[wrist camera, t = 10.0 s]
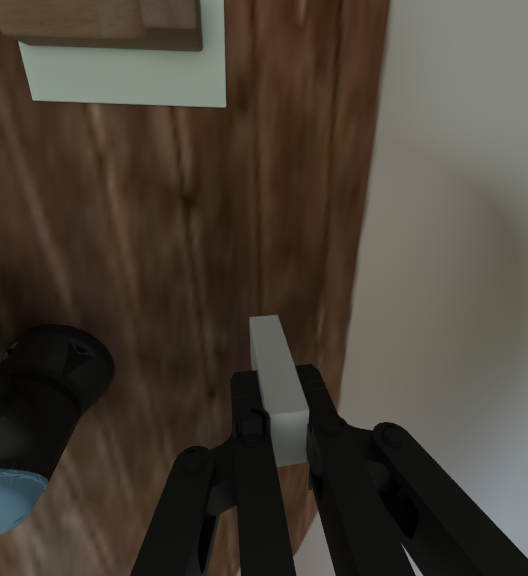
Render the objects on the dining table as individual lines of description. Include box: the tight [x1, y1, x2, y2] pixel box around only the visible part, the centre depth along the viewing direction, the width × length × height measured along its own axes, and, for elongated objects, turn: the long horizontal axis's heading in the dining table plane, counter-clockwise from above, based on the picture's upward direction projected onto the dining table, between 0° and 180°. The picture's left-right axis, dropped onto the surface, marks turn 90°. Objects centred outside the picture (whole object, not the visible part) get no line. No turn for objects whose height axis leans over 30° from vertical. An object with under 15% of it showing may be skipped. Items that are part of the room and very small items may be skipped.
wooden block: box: [0, 0, 203, 52], centre depth 29 cm, size 9×4×18 cm
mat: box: [18, 0, 226, 108], centre depth 33 cm, size 21×15×1 cm
